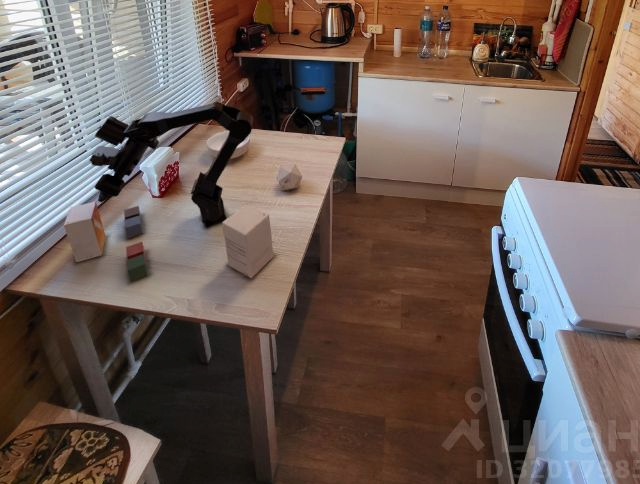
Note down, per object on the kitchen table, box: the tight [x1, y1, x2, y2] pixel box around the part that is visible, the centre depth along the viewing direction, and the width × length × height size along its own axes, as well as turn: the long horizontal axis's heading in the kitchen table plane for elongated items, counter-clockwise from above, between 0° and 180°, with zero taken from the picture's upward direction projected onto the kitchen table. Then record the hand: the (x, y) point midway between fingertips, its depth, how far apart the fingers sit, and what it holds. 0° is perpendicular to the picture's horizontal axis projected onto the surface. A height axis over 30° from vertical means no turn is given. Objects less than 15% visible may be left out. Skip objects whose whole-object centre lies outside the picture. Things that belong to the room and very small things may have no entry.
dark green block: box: [126, 254, 149, 283], centre depth 101 cm, size 4×4×4 cm
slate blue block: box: [124, 216, 144, 239], centre depth 115 cm, size 4×4×4 cm
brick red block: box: [125, 241, 147, 262], centre depth 105 cm, size 4×4×4 cm
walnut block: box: [123, 205, 143, 224], centre depth 119 cm, size 4×4×4 cm
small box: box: [63, 201, 107, 263], centre depth 107 cm, size 8×6×13 cm
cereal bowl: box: [206, 130, 251, 160], centre depth 156 cm, size 17×17×7 cm
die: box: [276, 163, 303, 191], centre depth 136 cm, size 8×9×10 cm
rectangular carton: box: [221, 203, 275, 279], centre depth 103 cm, size 9×9×15 cm
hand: (106, 191), depth 112 cm, fingers open, 9 cm apart
